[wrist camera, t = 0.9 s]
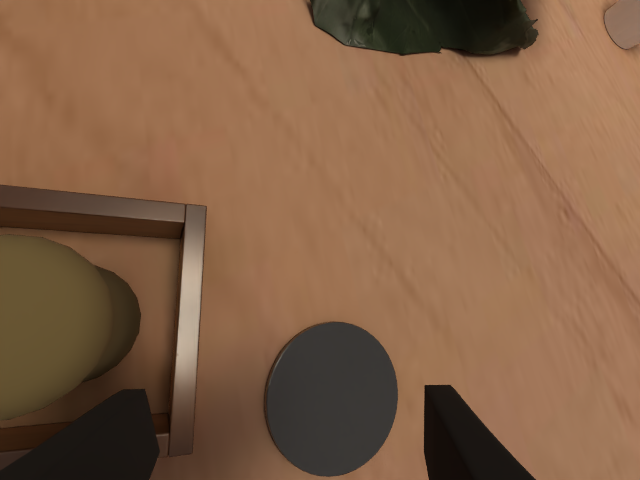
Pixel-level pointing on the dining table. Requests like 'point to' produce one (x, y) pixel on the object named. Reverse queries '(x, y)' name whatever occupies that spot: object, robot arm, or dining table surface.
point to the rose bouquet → (427, 24)
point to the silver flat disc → (331, 398)
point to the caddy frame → (189, 225)
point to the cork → (57, 322)
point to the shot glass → (624, 23)
